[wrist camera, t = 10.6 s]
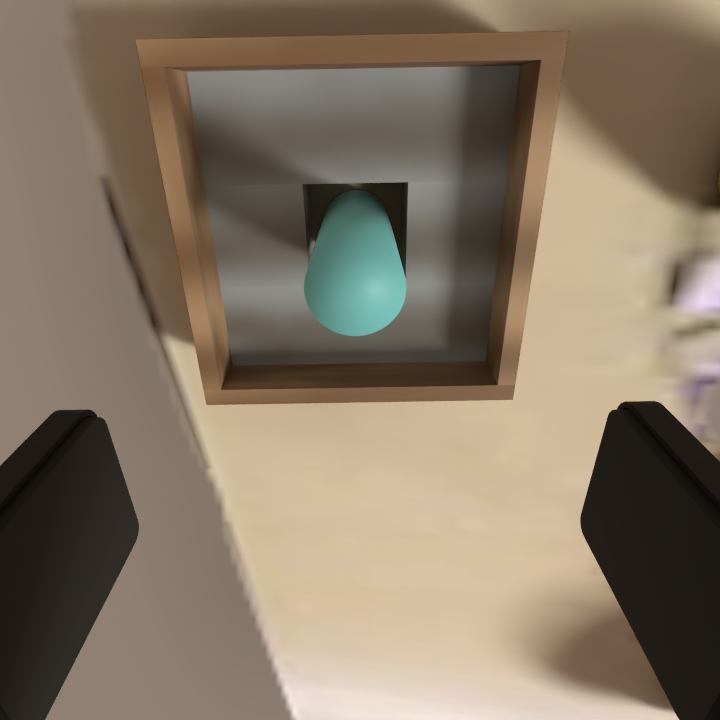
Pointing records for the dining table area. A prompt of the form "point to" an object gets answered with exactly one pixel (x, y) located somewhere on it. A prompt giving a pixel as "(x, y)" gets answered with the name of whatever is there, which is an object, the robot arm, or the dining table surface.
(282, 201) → the box
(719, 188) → the squeeze bottle
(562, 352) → the dining table surface
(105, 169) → the dining table surface
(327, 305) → the peg
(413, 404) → the dining table surface
